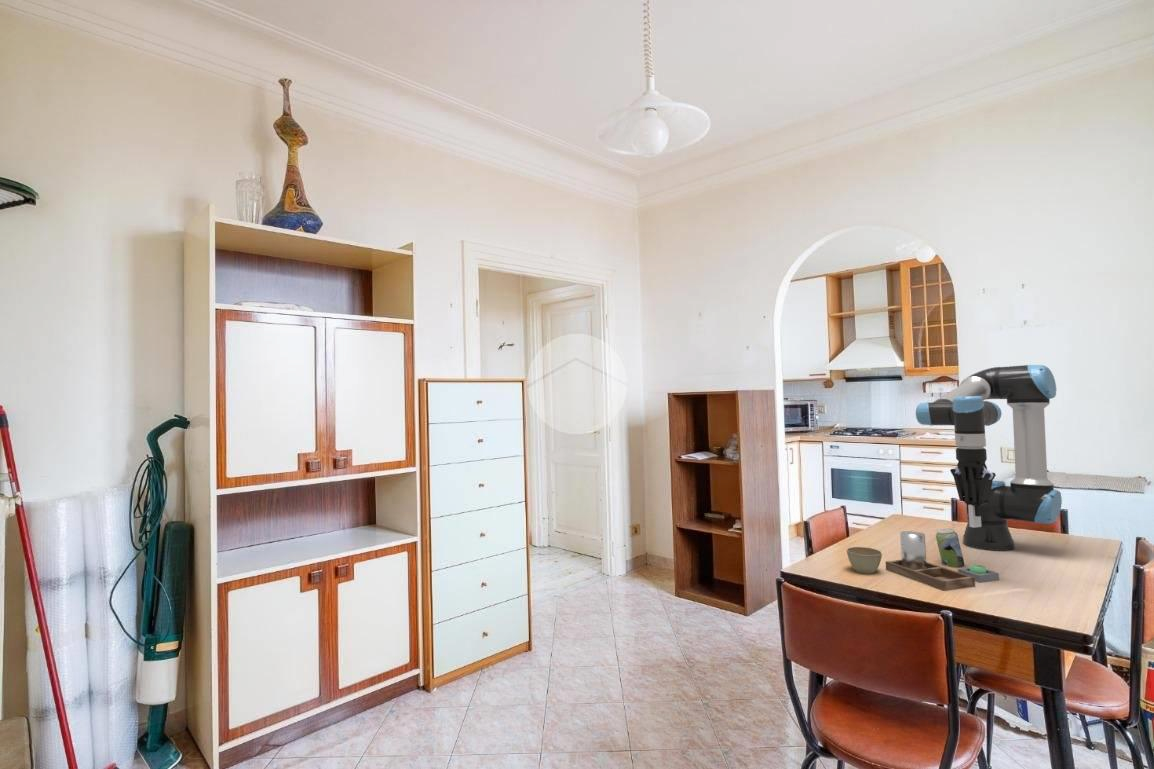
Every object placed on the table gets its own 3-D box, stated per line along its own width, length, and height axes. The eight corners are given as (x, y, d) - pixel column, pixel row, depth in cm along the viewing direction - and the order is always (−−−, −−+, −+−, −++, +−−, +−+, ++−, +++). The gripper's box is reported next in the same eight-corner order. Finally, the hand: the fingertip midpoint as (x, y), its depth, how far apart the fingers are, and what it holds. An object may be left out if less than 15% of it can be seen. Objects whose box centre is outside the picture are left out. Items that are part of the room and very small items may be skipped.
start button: (977, 574, 169) (976, 564, 169) (990, 578, 165) (989, 567, 165) (966, 575, 168) (966, 565, 168) (979, 579, 164) (978, 569, 164)
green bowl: (849, 577, 174) (848, 554, 174) (846, 567, 183) (844, 545, 183) (885, 579, 170) (884, 556, 171) (880, 570, 180) (879, 547, 180)
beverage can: (968, 570, 176) (966, 532, 176) (942, 570, 177) (940, 532, 178) (959, 564, 182) (956, 527, 182) (934, 564, 183) (932, 527, 184)
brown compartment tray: (914, 569, 179) (914, 558, 180) (975, 589, 159) (974, 577, 159) (886, 572, 177) (885, 561, 177) (943, 594, 156) (943, 581, 157)
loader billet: (914, 568, 177) (912, 530, 177) (932, 574, 170) (930, 535, 171) (897, 570, 175) (895, 532, 176) (914, 576, 169) (912, 536, 169)
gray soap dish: (977, 576, 170) (976, 566, 170) (999, 583, 163) (998, 573, 164) (958, 578, 169) (957, 568, 169) (980, 586, 162) (979, 575, 162)
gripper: (941, 446, 173) (946, 523, 172) (980, 449, 160) (985, 532, 159) (961, 445, 175) (965, 521, 174) (1001, 448, 162) (1006, 530, 161)
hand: (975, 526), depth 167 cm, fingers closed
